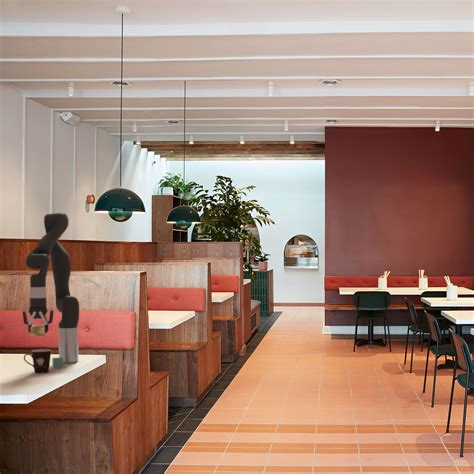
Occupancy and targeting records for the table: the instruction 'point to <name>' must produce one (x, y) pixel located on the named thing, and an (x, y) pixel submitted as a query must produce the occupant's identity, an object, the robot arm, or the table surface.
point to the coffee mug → (40, 360)
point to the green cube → (57, 362)
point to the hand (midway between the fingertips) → (38, 332)
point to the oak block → (38, 330)
